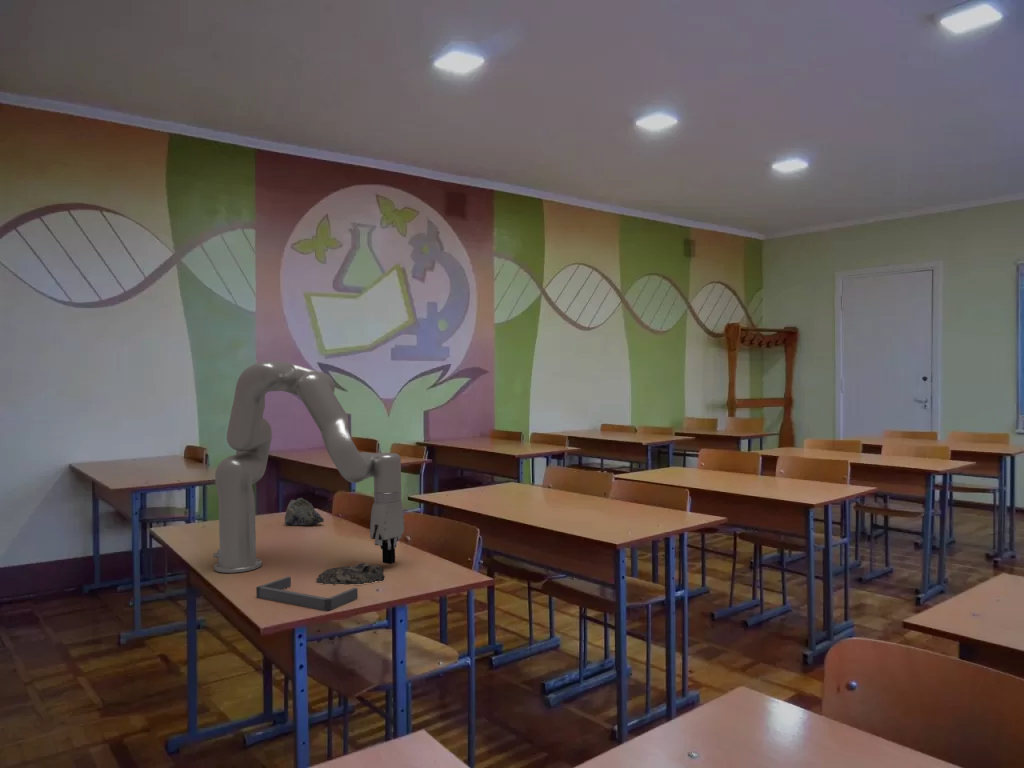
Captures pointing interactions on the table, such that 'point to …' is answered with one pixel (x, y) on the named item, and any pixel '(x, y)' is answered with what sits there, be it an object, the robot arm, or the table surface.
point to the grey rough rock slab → (352, 575)
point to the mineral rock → (301, 513)
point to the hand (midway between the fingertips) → (388, 562)
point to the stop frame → (303, 596)
